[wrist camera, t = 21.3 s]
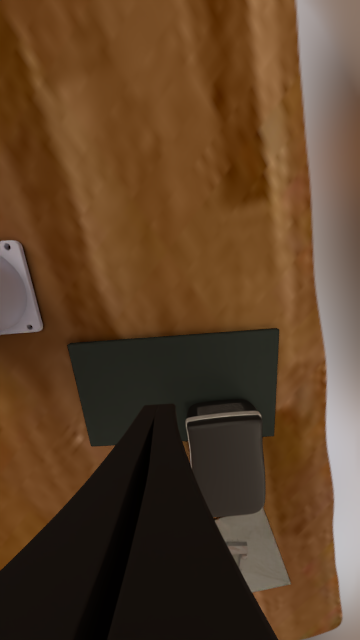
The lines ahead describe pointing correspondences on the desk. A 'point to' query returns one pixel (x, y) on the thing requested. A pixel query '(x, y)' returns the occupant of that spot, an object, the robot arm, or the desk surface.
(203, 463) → the battery charger
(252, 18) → the desk surface
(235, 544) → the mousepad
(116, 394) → the mat
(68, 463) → the desk surface
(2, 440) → the desk surface
